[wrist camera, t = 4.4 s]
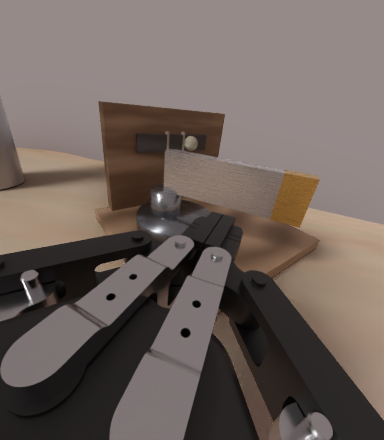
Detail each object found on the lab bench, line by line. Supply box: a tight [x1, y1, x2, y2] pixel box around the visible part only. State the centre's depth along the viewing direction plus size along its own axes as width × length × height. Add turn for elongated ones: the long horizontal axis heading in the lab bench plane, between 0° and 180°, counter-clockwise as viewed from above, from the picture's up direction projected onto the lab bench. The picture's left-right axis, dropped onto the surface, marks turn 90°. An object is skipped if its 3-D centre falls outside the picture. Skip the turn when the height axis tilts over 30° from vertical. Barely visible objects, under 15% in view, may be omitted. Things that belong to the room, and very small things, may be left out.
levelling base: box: [95, 101, 319, 313], centre depth 27 cm, size 22×24×16 cm
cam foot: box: [136, 149, 319, 242], centre depth 25 cm, size 20×10×10 cm, turn 67°
